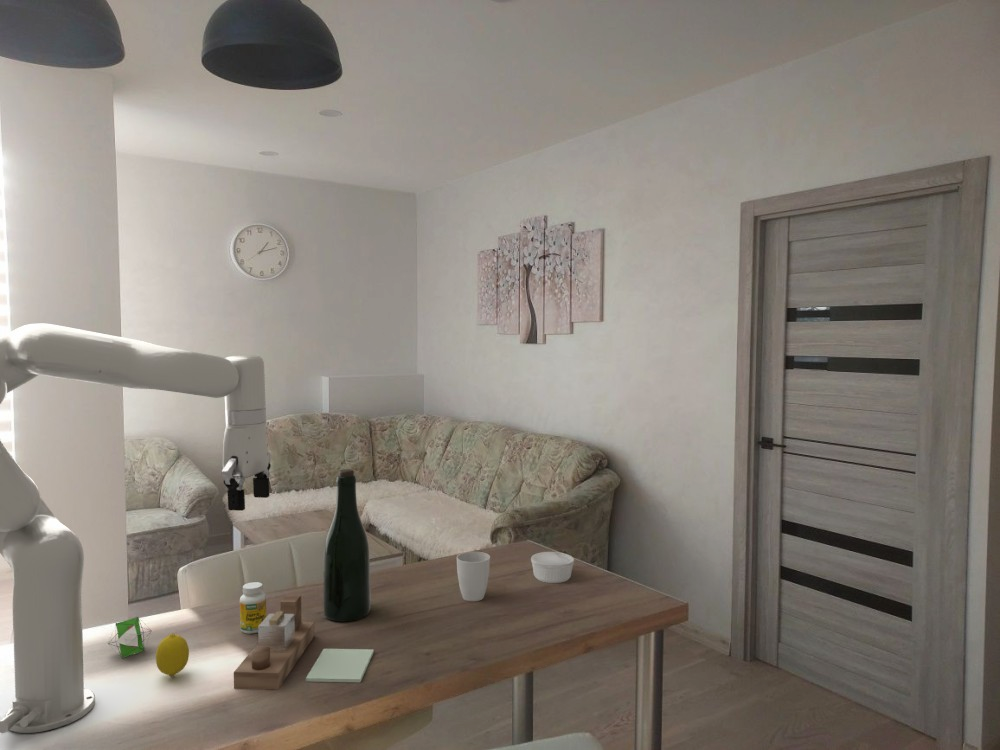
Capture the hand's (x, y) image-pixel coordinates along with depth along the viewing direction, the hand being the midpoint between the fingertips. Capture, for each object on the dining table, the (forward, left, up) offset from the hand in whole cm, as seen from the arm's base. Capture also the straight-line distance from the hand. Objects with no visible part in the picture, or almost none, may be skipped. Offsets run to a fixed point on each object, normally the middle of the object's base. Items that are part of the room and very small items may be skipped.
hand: (249, 503), depth 138 cm
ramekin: (+44, -63, -30) cm, 83 cm away
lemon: (-12, +10, -30) cm, 34 cm away
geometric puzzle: (-3, +23, -30) cm, 38 cm away
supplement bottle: (+9, +3, -30) cm, 31 cm away
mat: (-7, -20, -30) cm, 36 cm away
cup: (+29, -43, -30) cm, 60 cm away
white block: (-5, -7, -27) cm, 28 cm away
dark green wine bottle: (+18, -15, -30) cm, 38 cm away
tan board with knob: (-5, -7, -30) cm, 31 cm away
